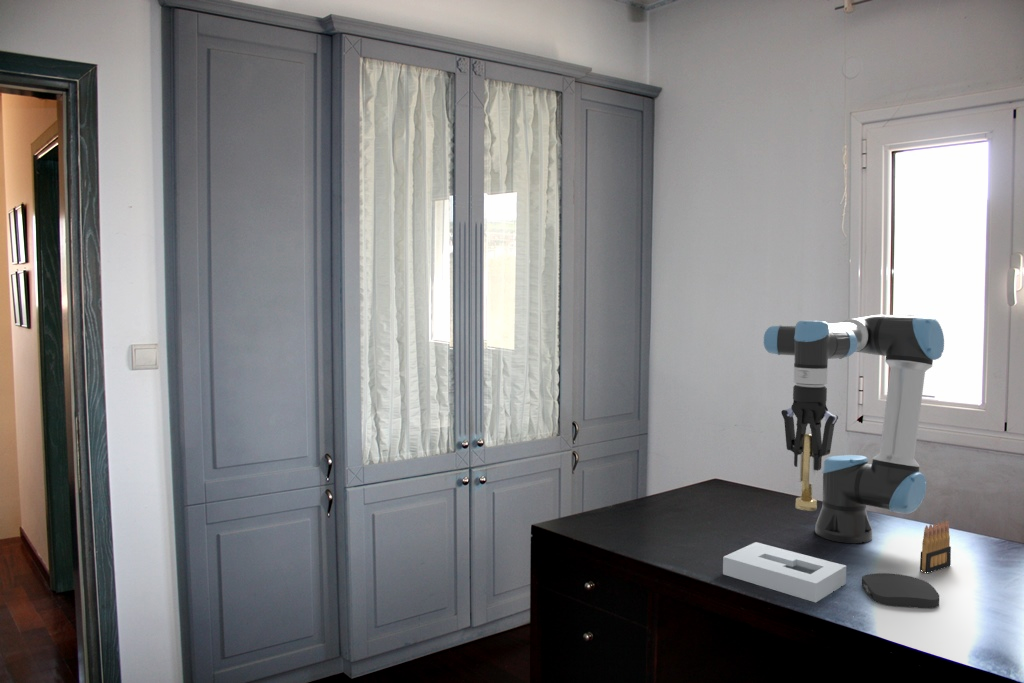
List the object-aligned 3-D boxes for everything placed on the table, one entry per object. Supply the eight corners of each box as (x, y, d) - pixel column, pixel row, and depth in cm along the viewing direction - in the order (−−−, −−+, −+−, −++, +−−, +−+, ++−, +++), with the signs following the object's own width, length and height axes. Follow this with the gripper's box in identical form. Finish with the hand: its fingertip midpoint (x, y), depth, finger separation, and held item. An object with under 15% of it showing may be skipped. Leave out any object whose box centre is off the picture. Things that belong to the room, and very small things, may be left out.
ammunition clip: (926, 573, 192) (928, 527, 191) (919, 571, 194) (920, 525, 193) (950, 565, 197) (952, 520, 197) (943, 563, 199) (945, 518, 198)
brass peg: (812, 505, 187) (815, 432, 186) (819, 511, 182) (822, 436, 181) (792, 505, 187) (795, 432, 186) (799, 510, 183) (801, 436, 181)
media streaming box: (944, 611, 171) (945, 598, 171) (875, 606, 173) (875, 593, 173) (921, 586, 185) (922, 573, 185) (857, 582, 188) (857, 570, 187)
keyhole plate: (845, 583, 186) (846, 565, 185) (815, 602, 175) (816, 583, 174) (755, 558, 203) (755, 542, 203) (722, 574, 192) (723, 556, 192)
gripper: (772, 383, 186) (769, 478, 188) (834, 389, 175) (831, 490, 176) (787, 381, 191) (784, 473, 193) (849, 386, 180) (845, 485, 181)
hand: (807, 481), depth 184 cm, fingers closed on brass peg, 2 cm apart
